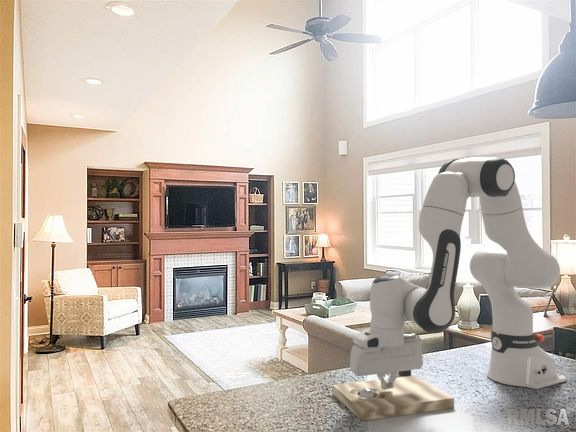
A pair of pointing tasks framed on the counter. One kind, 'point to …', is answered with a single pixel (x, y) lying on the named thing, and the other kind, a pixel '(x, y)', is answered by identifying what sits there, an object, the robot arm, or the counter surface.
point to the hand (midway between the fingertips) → (387, 388)
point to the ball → (366, 393)
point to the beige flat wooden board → (392, 398)
